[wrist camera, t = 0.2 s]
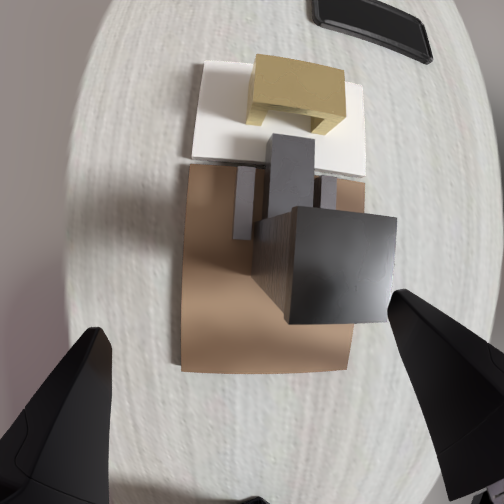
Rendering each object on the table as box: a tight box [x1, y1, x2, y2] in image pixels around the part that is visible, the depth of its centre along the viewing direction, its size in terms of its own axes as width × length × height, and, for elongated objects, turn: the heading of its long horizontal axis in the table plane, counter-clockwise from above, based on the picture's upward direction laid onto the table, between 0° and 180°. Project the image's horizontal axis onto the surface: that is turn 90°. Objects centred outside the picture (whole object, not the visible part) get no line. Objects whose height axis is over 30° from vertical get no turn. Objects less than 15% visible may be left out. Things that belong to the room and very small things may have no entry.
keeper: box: [245, 54, 346, 135], centre depth 20 cm, size 4×6×4 cm, turn 86°
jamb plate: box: [192, 60, 366, 178], centre depth 22 cm, size 9×14×1 cm, turn 86°
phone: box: [312, 0, 433, 65], centre depth 23 cm, size 8×1×15 cm
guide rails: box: [231, 166, 337, 240], centre depth 21 cm, size 5×7×2 cm
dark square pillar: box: [251, 133, 397, 325], centre depth 16 cm, size 10×4×12 cm, turn 176°
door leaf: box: [181, 164, 365, 374], centre depth 23 cm, size 16×14×1 cm
